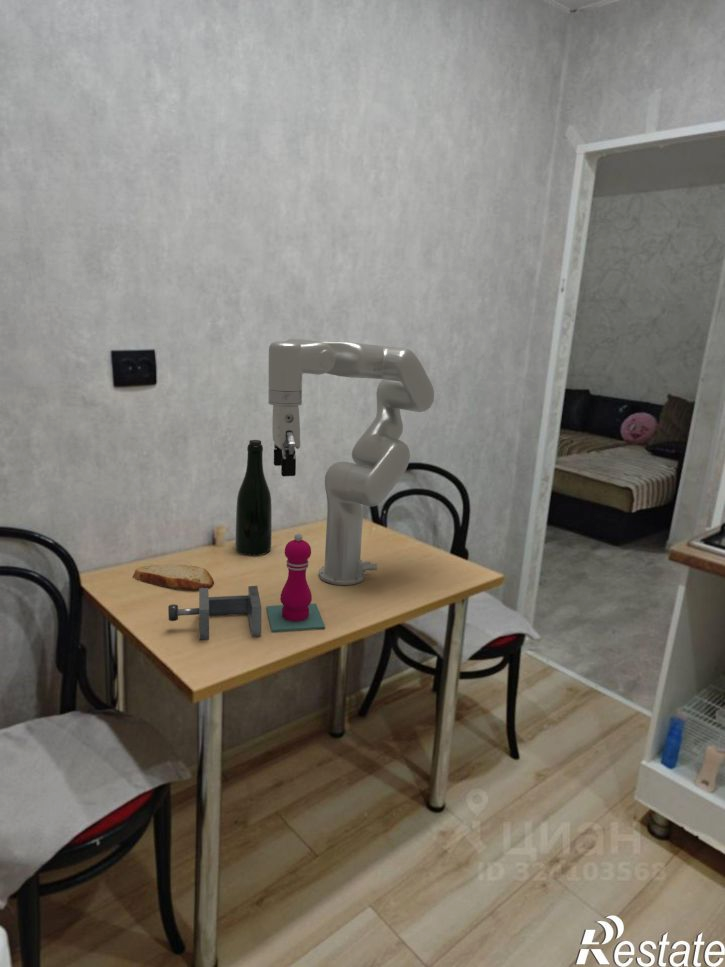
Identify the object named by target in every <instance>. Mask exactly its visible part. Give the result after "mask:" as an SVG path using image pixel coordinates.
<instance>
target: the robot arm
mask: <svg viewBox="0 0 725 967" xmlns="http://www.w3.org/2000/svg"><path fill="white" fill-rule="evenodd" d="M426 372H427V371H426V370H425V368H424V366H423V365H422V363H421V361H420V359H419V358H418V356H417V355H416V354H415V353H414V352H413V351H412V350H411V349H409V348H406V347H405V348H403V347H396V346H395V347H394V346H384V345H375V344H367V343H358V342H345V341H336V342H335V341H333V342H332V341H319V340H311V339H310V340H309V339H301V338H290V339H287V340H285V341H274V342H271V343H269V346H268V397H267V398H268V402H267V404H268V405H271V406H272V425H271V426H272V441H273V443H274V445H273V447H274V448H273V466H277V467H281V469H280V470H281V471H280V474H281V477H295V476H296V473H297V457H296V456H297V454H296V449H297V450H299V449H300V447H301V422H300V407H299V406H301V405H302V403H303V402H302V401H303V375H304V374H310V375H316V376H317V375H324V374H329V375H332V376H337V377H344V378H350V379H351V378H352V379H353V378H355V379H357V378H358V379H372V380H373V379H377V380H378V379H379V380H381V381H380V382H379V383H378V385H377V387H376V406H377V407H376V415H375V418H374V419H373V421H372V423H371V424H370V425H369V426H368V428H366V430H365V431H364V433H363V434H362V435H361V436H360V437H359V439H358V440H357V441H356V442H355V444H354V446H353V448H352V451H351V458H352V461H353V462H354V463H353V462H348V461H338V462H335V463H333V464H331V465H330V466H329V467H328V469H327V470H326V473H325V476H324V488H325V489H324V490H325V493H326V508H327V510H326V530H325V531H326V532H325V550H324V566H322V567H320V569H318V578H319V579H320V580H322V581H323V582H325V583H329V584H332V585H336V586H337V585H338V586H349V585H356V584H359V583H361V582H363V581H364V580H365V576H366V572H368V571H370V572H372V571H373V572H374V571H377V570H378V564H377V563H371V561H370V560H365V561H362V560H361V552H362V536H363V535H362V534H363V520H364V515H363V509H362V508H363V507H362V506H366V507H377V506H379V505H380V504H381V503H382V502H383V501H385V499H386V498H387V497H388V495H389V494H390V492H391V491H392V490H393V489H394V488H395V486H396V485H397V484H398V483H399V481H400V479H401V478H402V477H403V475H404V474H405V472H406V471H407V468H408V466H409V464H410V457H411V452H410V449H409V447H408V445H407V444H406V443H405V442H404V441H403V440H401V439H400V438H401V437H402V434H403V430H404V424H403V420H402V416H401V410H404V411H411V412H414V413H416V412H417V413H423V412H426V411H428V410H429V409H430V408H431V407H432V406H433V403H434V400H435V390H434V388H433V384H432V382H431V379H430V378H429V376H428V375H427V373H426Z"/></svg>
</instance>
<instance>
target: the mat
mask: <svg viewBox="0 0 725 967" xmlns="http://www.w3.org/2000/svg"><path fill="white" fill-rule="evenodd" d="M283 606H284V605H283V604H278V605H277V604H275V605H266V606H265V608H266V614H267V617H268V622H269V626H270V629H271V630H270V631H271V633H279V632H281V631H283V632H295V631H294V630H299V631H311V630H310V629H316V630H322V629H321V628H325V629H326V625H325V622H324V620H323V618H322V615H321V612H320V610H319V608H318V604H317V603H310V605H309V606H308V607H309V617H308V618H307V619H305V620H302V621H289V620H286V619H285V618H283V616H282V608H283Z"/></svg>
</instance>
